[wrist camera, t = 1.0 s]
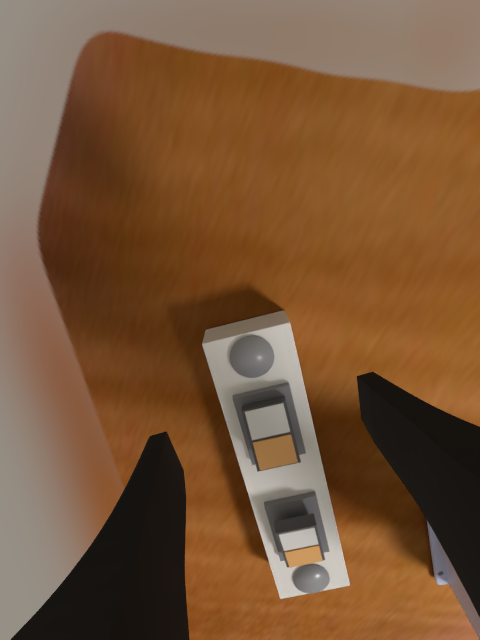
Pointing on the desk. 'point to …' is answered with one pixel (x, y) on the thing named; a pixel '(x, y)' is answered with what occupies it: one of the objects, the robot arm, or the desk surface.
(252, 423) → the rocker
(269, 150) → the desk surface
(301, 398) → the rocker switch panel
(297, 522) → the rocker
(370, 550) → the desk surface
